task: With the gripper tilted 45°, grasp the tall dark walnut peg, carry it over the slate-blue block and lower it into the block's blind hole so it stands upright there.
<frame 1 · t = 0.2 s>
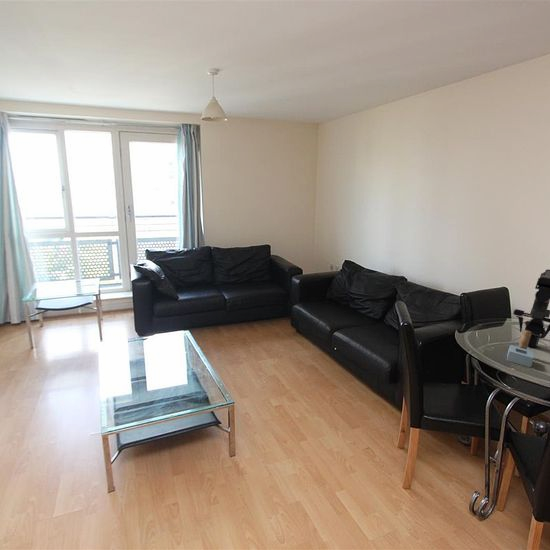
hand: (531, 335, 176), 16 cm above the table, tool pointing down, fingers open, 9 cm apart
walnut peg: (520, 354, 192), on the table
grandmother figurine: (526, 335, 222), on the table
hole block: (518, 360, 185), on the table
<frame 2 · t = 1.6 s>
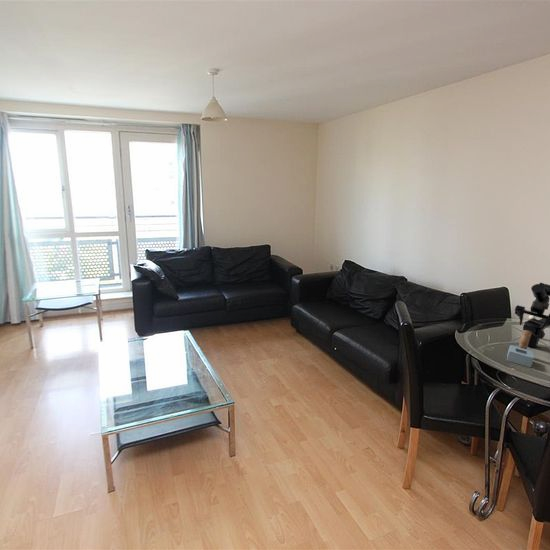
hand: (530, 327, 193), 14 cm above the table, tool tilted 45°, fingers open, 9 cm apart
nothing on the table moved.
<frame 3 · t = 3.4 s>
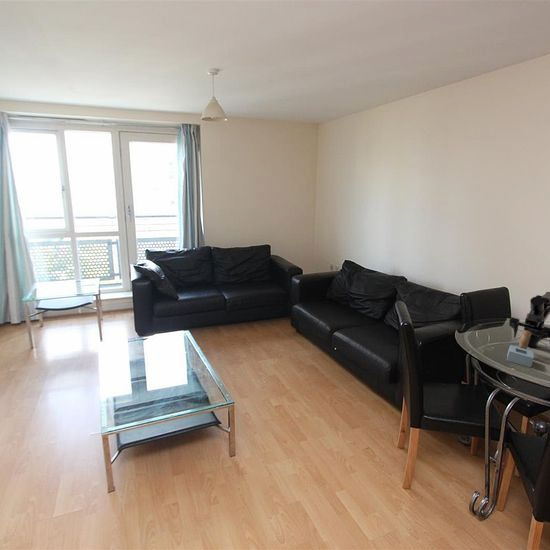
hand: (524, 340, 190), 8 cm above the table, tool tilted 45°, fingers open, 9 cm apart
nothing on the table moved.
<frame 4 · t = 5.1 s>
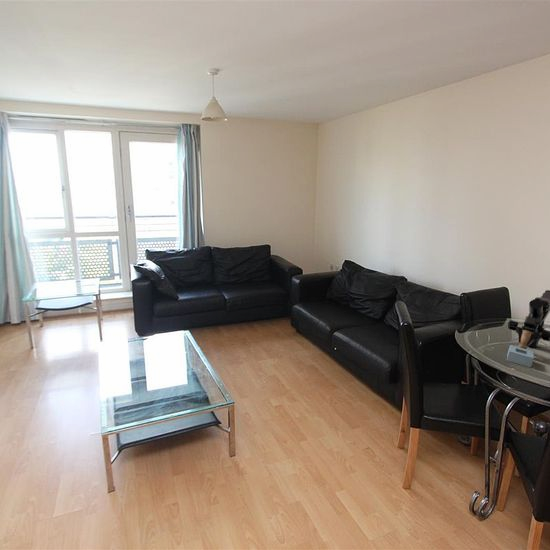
hand: (523, 343, 190), 7 cm above the table, tool tilted 45°, fingers closed on walnut peg, 4 cm apart
walnut peg: (520, 354, 192), on the table, touching gripper
everything else where it was.
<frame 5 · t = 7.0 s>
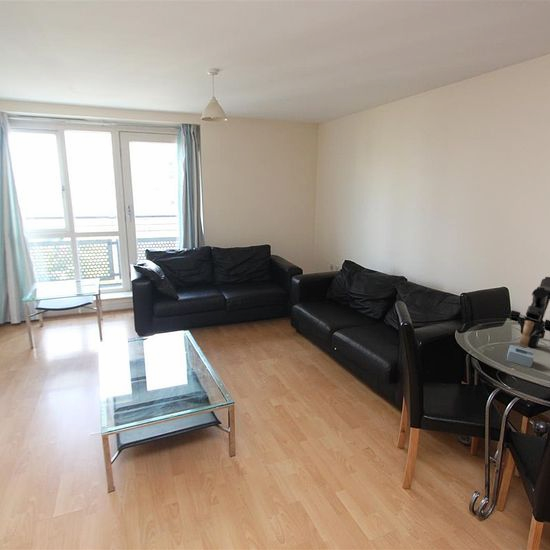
hand: (525, 334, 181), 14 cm above the table, tool tilted 45°, fingers closed on walnut peg, 4 cm apart
walnut peg: (522, 346, 184), point 7 cm above the table, touching gripper
everything else where it was.
when the fingers open (9 cm above the table, at t = 8.8 s): walnut peg drops 1 cm, resting on hole block.
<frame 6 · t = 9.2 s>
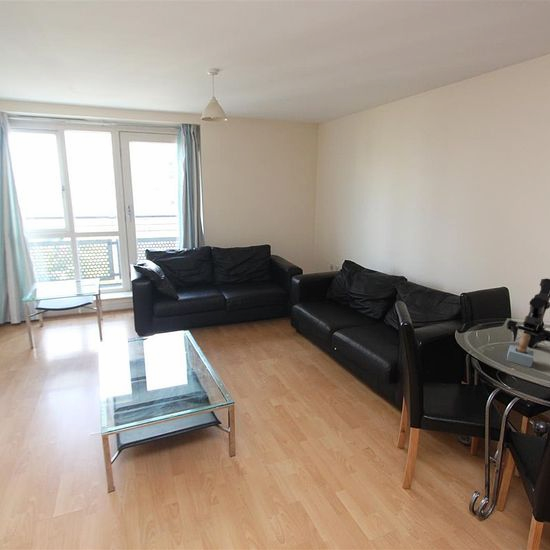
hand: (522, 344, 182), 9 cm above the table, tool tilted 45°, fingers open, 7 cm apart
walnut peg: (519, 358, 185), point 1 cm above the table, touching hole block
everything else where it was.
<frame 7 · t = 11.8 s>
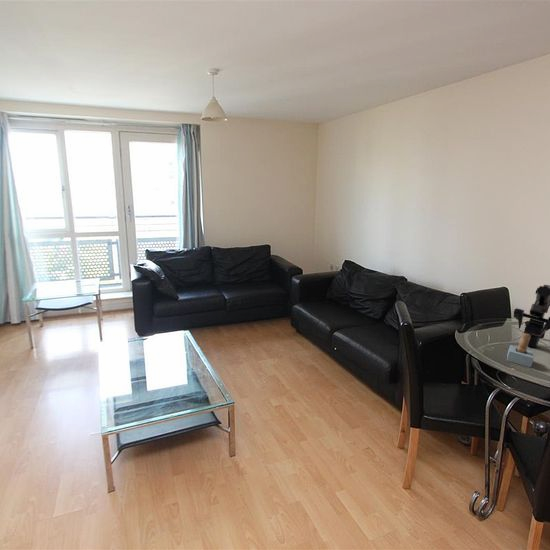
hand: (529, 331, 188), 13 cm above the table, tool tilted 45°, fingers open, 9 cm apart
nothing on the table moved.
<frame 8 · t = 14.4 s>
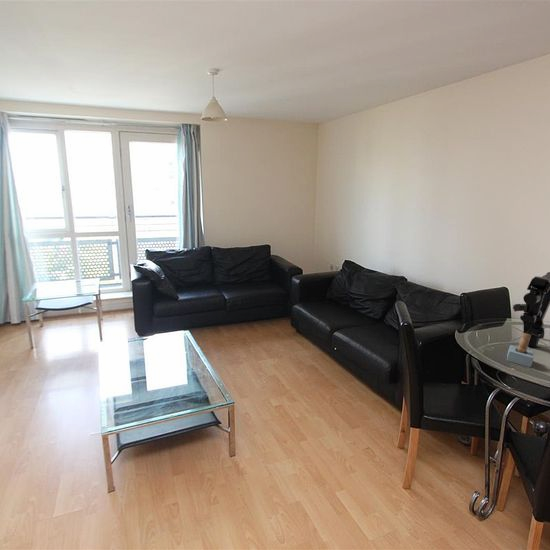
hand: (526, 330, 194), 12 cm above the table, tool pointing down, fingers open, 9 cm apart
nothing on the table moved.
at the end: walnut peg 0.0 cm off-centre on the hole block, point 1.0 cm above the hole block's base; walnut peg tilted 1°; the gripper is holding nothing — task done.
